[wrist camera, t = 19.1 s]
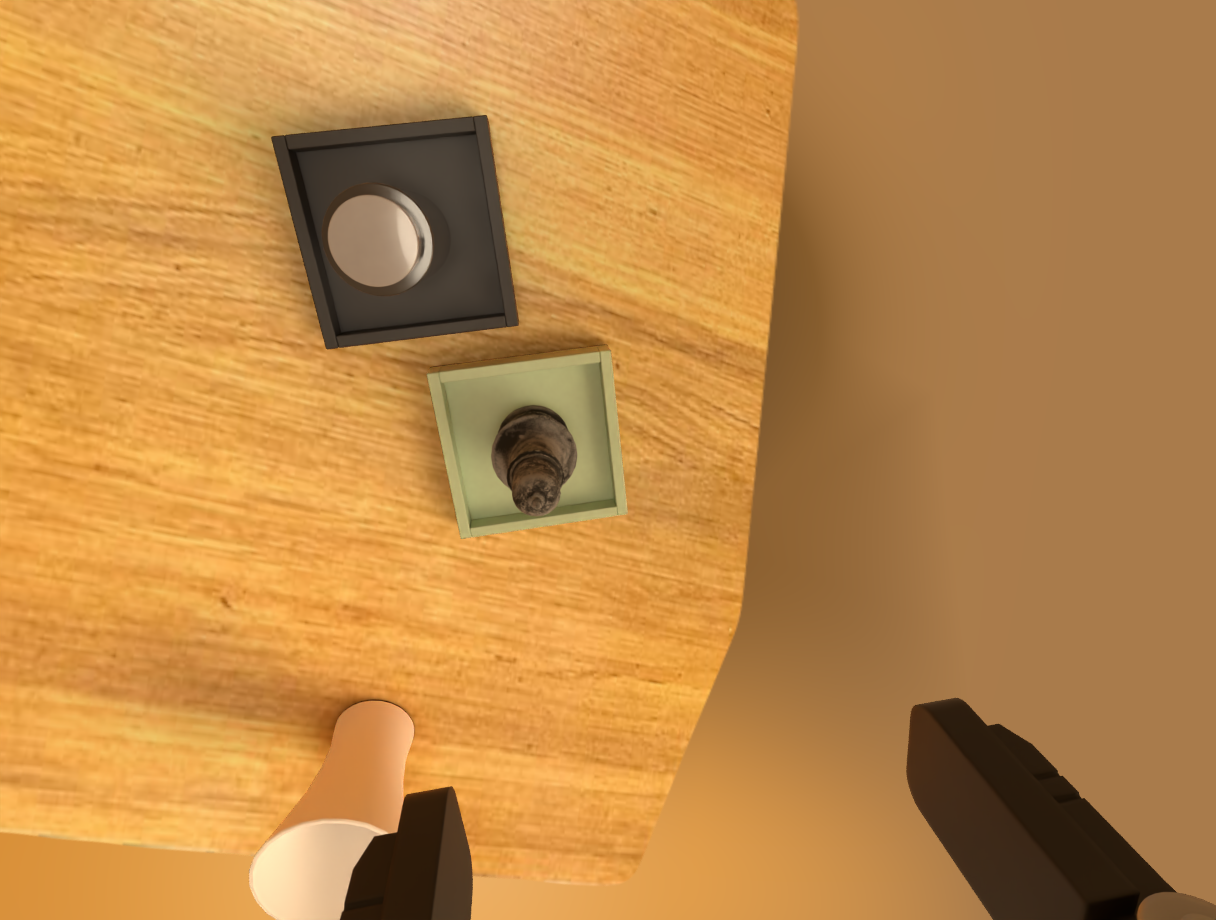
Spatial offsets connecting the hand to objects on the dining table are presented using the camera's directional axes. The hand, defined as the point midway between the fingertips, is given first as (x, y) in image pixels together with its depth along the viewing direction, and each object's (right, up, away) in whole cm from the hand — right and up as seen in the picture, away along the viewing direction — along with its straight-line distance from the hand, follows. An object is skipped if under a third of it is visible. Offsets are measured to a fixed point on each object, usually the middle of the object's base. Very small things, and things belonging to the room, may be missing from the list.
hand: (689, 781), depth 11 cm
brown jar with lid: (-14, +20, +31) cm, 40 cm away
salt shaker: (-7, +7, +37) cm, 38 cm away
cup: (-21, -18, +45) cm, 53 cm away
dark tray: (-14, +20, +32) cm, 40 cm away
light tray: (-7, +7, +37) cm, 39 cm away
